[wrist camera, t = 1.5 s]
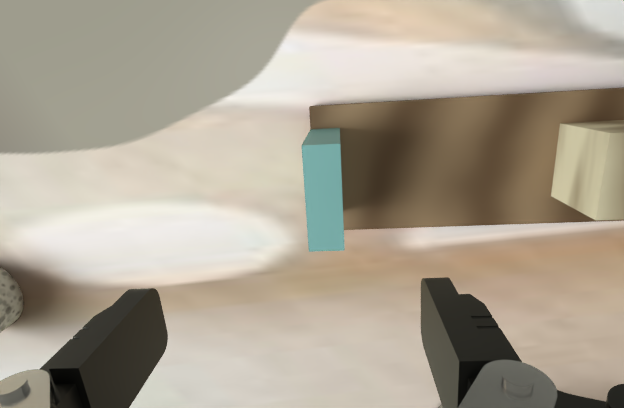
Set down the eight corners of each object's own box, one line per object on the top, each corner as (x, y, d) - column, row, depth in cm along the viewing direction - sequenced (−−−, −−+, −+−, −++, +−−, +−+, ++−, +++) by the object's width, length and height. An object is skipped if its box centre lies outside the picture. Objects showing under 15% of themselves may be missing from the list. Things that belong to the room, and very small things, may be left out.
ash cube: (640, 119, 25) (710, 128, 21) (626, 192, 27) (688, 217, 22) (560, 123, 26) (610, 133, 21) (550, 196, 27) (595, 220, 23)
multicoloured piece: (708, 82, 25) (867, 83, 18) (678, 213, 28) (805, 263, 20) (310, 106, 27) (299, 116, 20) (317, 225, 30) (310, 275, 23)
